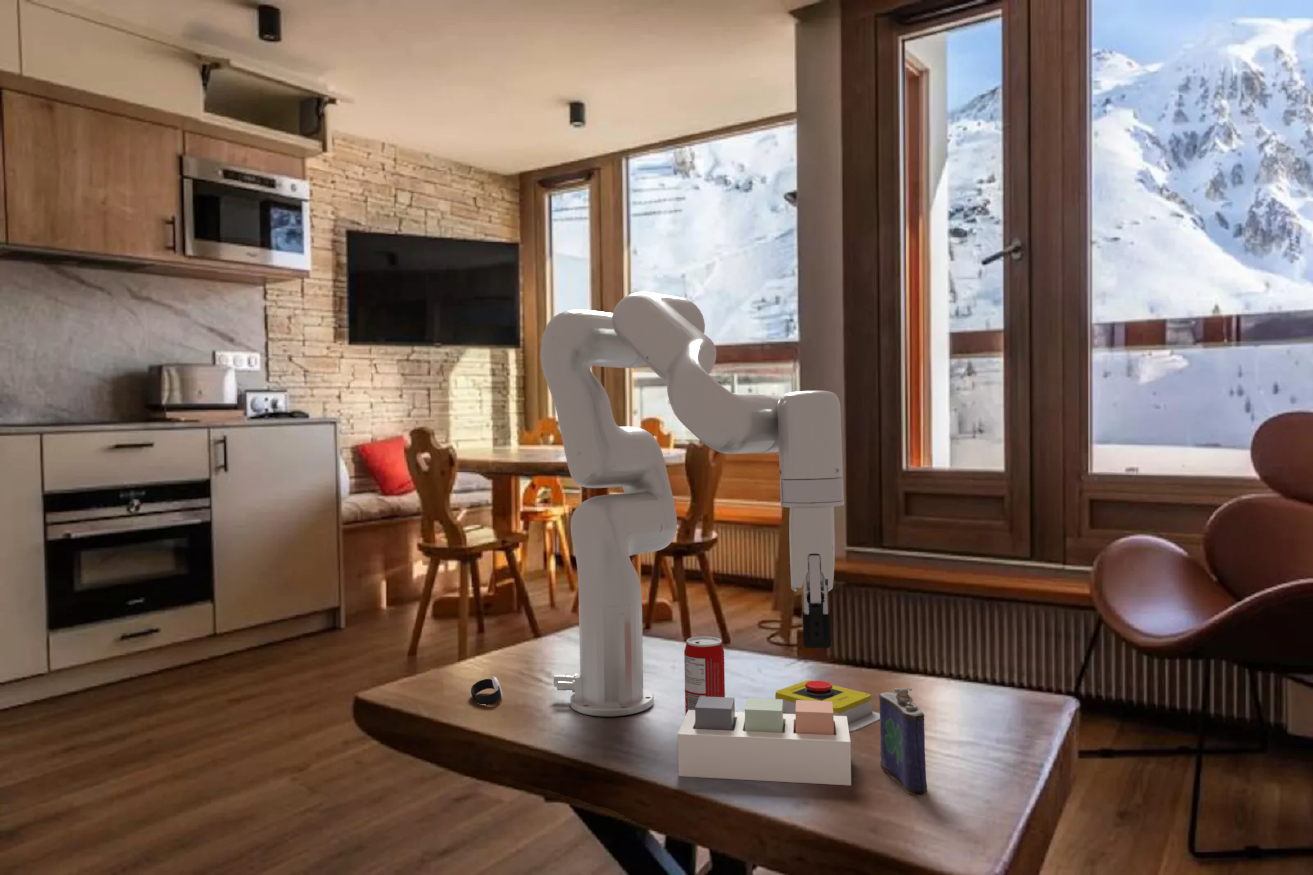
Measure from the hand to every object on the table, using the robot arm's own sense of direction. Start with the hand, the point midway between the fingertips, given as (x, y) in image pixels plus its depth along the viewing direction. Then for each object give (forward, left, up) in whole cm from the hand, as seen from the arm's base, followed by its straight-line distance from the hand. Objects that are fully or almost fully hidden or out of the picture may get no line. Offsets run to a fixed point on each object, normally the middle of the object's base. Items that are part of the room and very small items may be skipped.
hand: (817, 646), depth 102 cm
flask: (+10, -1, -15) cm, 18 cm away
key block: (-6, 0, -15) cm, 16 cm away
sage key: (-6, 0, -11) cm, 13 cm away
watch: (-50, +21, -15) cm, 57 cm away
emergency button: (+1, +22, -16) cm, 27 cm away
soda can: (-15, +14, -15) cm, 26 cm away
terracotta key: (0, 0, -11) cm, 11 cm away
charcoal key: (-12, 0, -11) cm, 17 cm away
